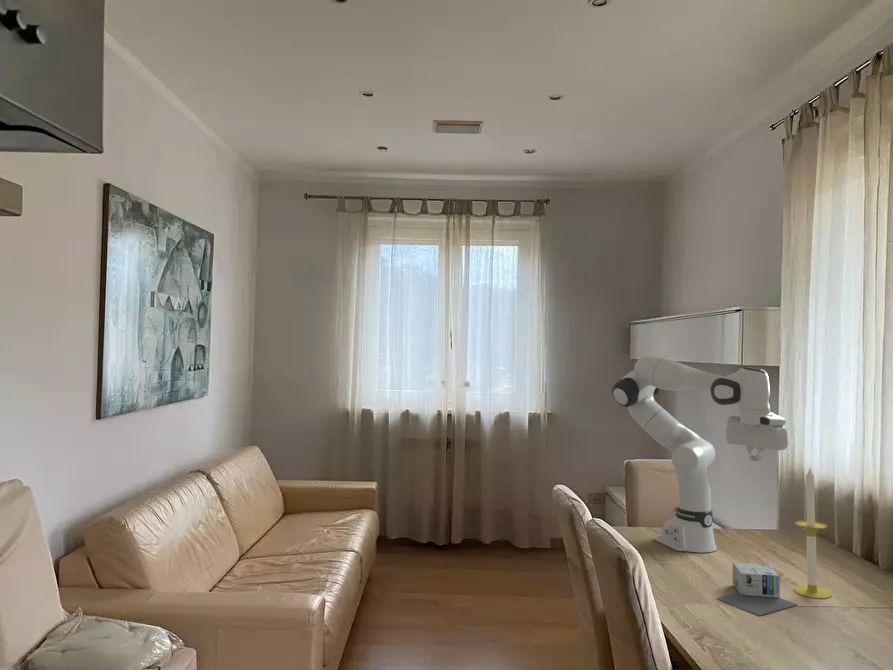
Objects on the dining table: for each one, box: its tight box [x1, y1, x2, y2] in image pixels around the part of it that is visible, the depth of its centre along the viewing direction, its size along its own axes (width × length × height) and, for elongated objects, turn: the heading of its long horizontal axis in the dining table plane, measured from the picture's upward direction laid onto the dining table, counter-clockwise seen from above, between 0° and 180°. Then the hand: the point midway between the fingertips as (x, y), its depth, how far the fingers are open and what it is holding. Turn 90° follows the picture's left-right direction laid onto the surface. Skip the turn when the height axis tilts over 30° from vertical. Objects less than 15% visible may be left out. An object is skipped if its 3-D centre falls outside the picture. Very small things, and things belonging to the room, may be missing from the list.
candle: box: [793, 468, 833, 600], centre depth 194 cm, size 10×10×38 cm
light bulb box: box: [732, 562, 781, 598], centre depth 194 cm, size 11×7×11 cm
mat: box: [716, 591, 798, 617], centre depth 186 cm, size 14×16×1 cm
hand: (755, 460), depth 207 cm, fingers closed
